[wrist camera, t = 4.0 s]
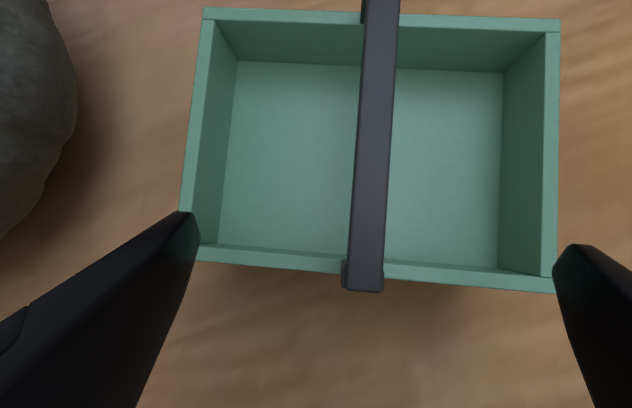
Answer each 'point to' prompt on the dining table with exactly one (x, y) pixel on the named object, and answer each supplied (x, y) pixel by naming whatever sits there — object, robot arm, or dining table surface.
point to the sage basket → (377, 145)
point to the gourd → (31, 105)
